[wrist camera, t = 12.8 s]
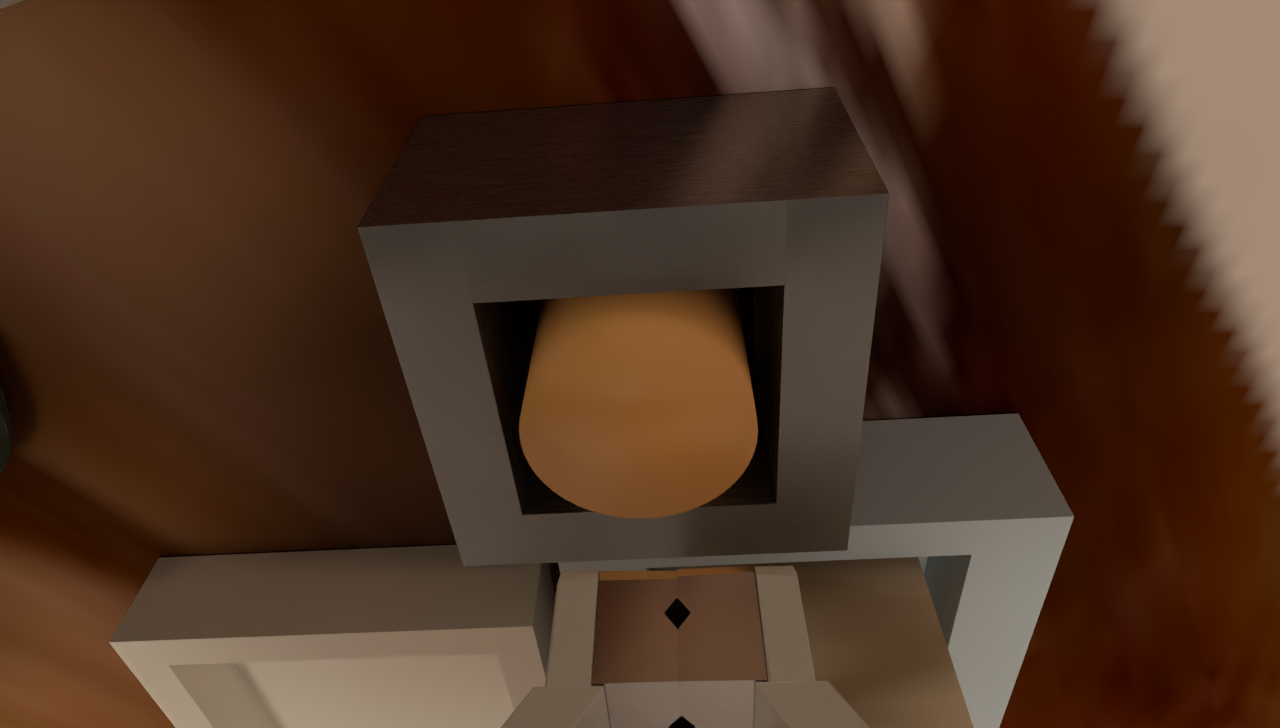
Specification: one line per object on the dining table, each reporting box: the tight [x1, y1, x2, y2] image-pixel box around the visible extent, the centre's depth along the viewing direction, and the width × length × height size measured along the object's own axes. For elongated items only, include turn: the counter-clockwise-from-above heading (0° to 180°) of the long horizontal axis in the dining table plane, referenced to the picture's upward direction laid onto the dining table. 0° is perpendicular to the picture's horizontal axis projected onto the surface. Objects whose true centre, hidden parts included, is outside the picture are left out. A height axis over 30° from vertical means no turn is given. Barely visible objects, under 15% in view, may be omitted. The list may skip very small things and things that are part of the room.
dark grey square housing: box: [357, 88, 889, 566], centre depth 15 cm, size 7×7×4 cm
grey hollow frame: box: [558, 413, 1074, 728], centre depth 22 cm, size 16×10×3 cm, turn 4°
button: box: [519, 288, 758, 518], centre depth 14 cm, size 4×4×4 cm
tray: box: [109, 545, 556, 728], centre depth 23 cm, size 11×10×2 cm
